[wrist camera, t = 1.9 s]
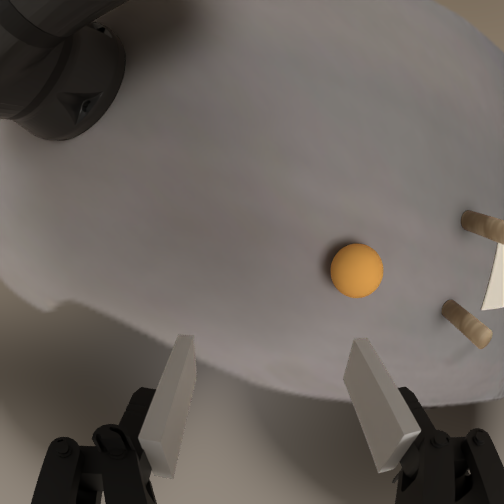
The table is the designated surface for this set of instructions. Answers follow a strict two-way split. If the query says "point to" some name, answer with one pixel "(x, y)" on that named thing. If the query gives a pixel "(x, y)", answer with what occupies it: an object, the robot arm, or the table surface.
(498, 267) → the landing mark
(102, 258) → the table surface
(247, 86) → the table surface
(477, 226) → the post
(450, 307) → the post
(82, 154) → the table surface
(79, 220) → the table surface
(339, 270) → the ball
